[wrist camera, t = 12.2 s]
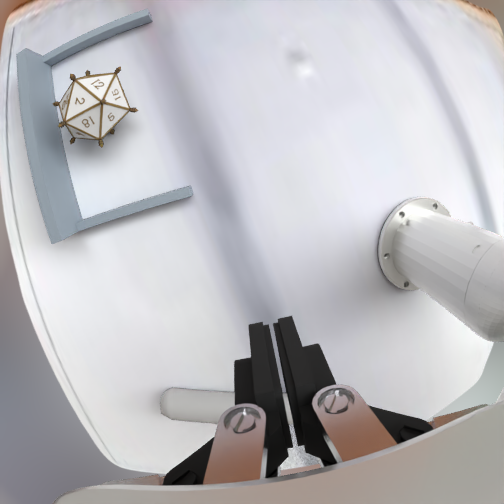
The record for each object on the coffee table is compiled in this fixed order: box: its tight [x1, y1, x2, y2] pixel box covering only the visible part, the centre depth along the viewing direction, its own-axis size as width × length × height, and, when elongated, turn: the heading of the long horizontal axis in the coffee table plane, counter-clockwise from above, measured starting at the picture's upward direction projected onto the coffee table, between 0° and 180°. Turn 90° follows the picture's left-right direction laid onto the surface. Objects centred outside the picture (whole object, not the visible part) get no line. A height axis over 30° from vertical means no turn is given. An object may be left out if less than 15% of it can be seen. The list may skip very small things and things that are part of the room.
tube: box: [160, 388, 293, 424], centre depth 40 cm, size 5×5×25 cm
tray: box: [17, 9, 193, 244], centre depth 27 cm, size 16×23×6 cm
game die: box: [53, 67, 138, 147], centre depth 26 cm, size 9×8×10 cm
